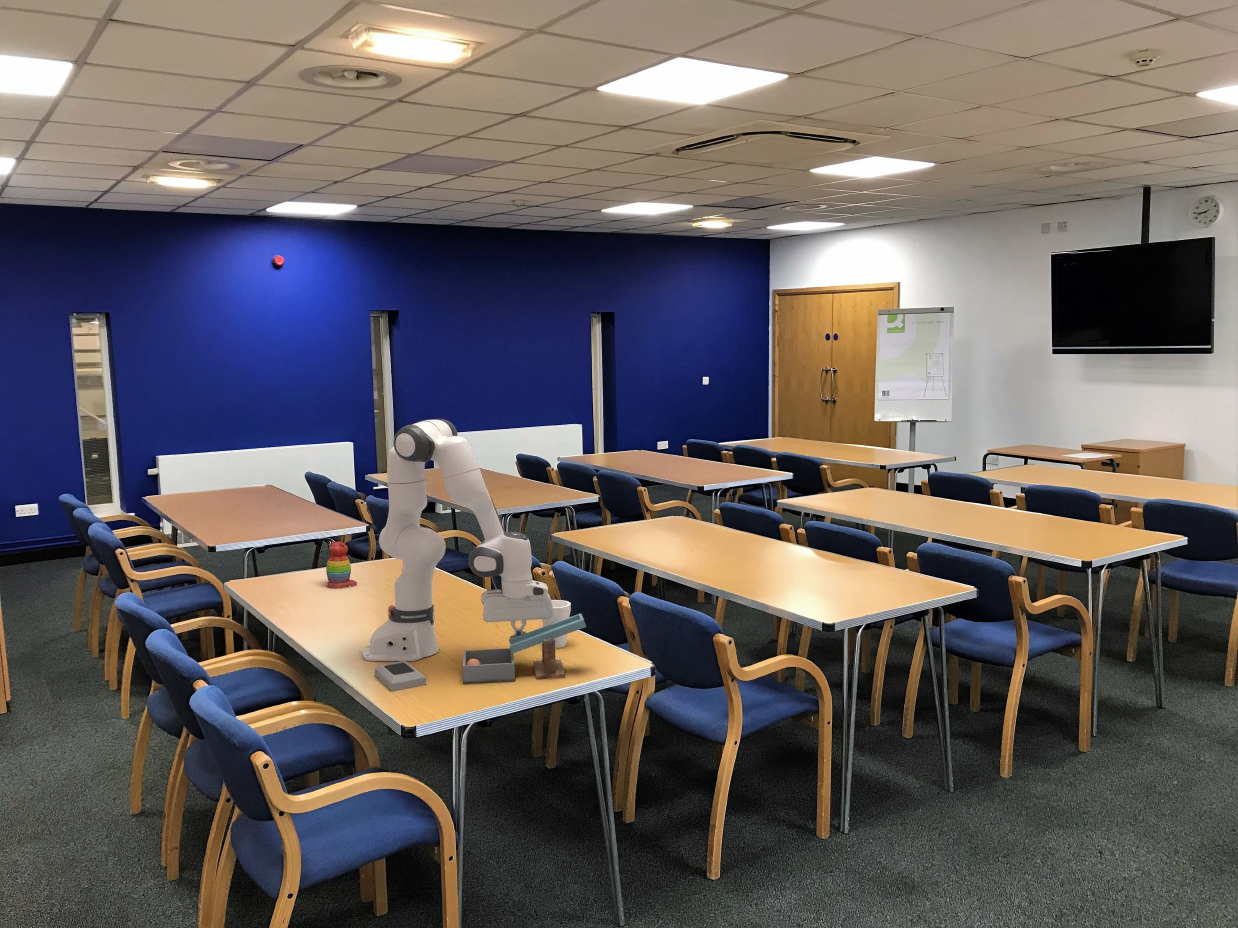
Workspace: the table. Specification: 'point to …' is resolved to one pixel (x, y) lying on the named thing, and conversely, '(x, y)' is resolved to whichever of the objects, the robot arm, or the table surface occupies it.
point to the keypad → (399, 676)
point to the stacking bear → (339, 567)
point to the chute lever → (546, 633)
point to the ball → (473, 662)
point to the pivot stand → (548, 662)
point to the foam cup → (559, 618)
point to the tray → (489, 666)
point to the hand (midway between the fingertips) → (518, 634)
